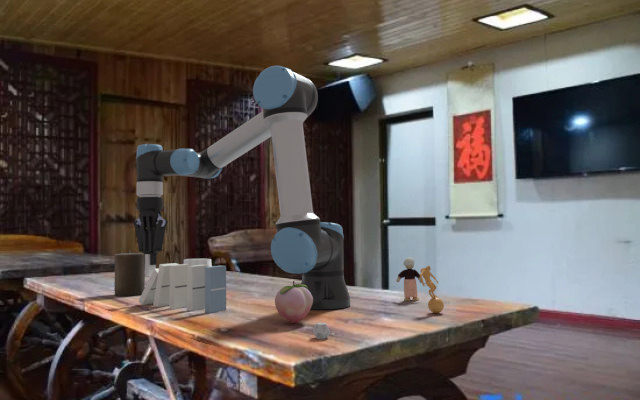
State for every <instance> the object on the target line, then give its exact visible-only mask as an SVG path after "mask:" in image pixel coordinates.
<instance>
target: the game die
mask: <svg viewBox="0 0 640 400" xmlns="http://www.w3.org/2000/svg"><path fill="white" fill-rule="evenodd" d="M311 330H312V332H313V334H314V336H315V338H316V339H317V340H326V339H327V338H328V337H329V336H330V334H331V331H330V328H329V327H328V325H327V323H326V322H317V323H315V324H314V325H313V327H312V329H311Z"/></svg>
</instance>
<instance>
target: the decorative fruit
mask: <svg viewBox="0 0 640 400" xmlns="http://www.w3.org/2000/svg"><path fill="white" fill-rule="evenodd" d="M306 288H307V289H306ZM312 303H313V297H312V295H311V293H310V291H309V290H308V287H307V286H306V285H303V284H301V283H295V280H293V281H292V285H286V286H284V287H282V288H281V289H279V290H278V291H277V293H276V295H275V298H274V305H275V308H276V309H275V310H276V311H277V313H278V315H280V316H281V317H282V319H285V320H286V321H288V322H290V323H292V324H296V323H299V322H300V321H301V320H302V319H304V318H305V317H306V316H307V315H308V314H309V312H310V310H312V309H311V306H312Z"/></svg>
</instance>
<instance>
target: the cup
mask: <svg viewBox="0 0 640 400" xmlns="http://www.w3.org/2000/svg"><path fill="white" fill-rule="evenodd" d="M183 264H191V266H195V265H208V267H212V266H213V265H212V259H211V258H186V259H183Z"/></svg>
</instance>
